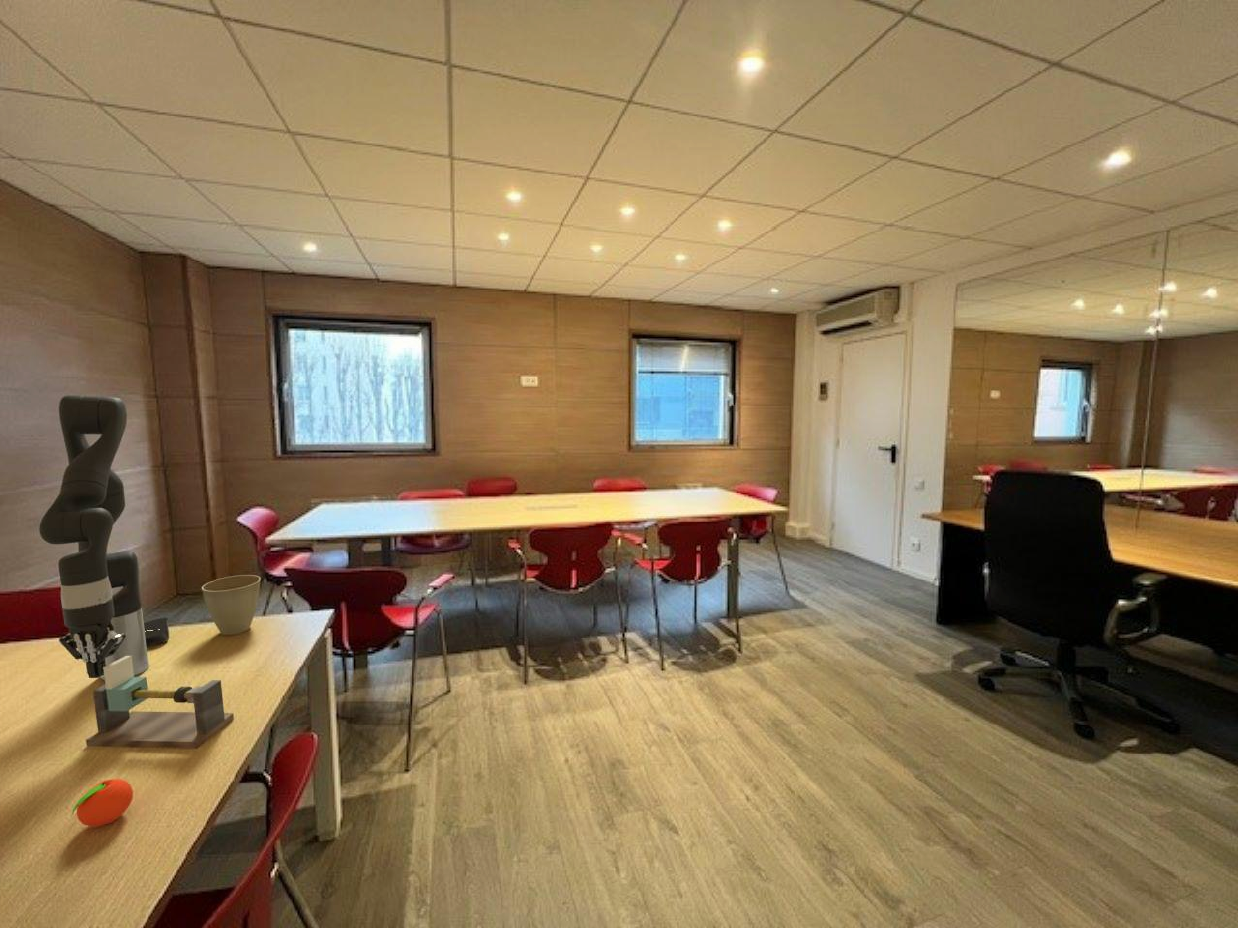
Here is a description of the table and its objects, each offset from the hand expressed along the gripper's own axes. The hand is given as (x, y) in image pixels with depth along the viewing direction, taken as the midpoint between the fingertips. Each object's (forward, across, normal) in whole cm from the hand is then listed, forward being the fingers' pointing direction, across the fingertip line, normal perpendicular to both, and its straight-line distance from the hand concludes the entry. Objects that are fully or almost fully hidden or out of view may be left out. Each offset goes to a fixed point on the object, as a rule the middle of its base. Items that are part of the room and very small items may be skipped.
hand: (97, 676), depth 111 cm
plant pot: (+13, -10, +50) cm, 53 cm away
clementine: (+13, +25, -24) cm, 37 cm away
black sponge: (+14, -32, +44) cm, 56 cm away
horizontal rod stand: (+13, +13, 0) cm, 19 cm away
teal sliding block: (+7, +6, 0) cm, 9 cm away
